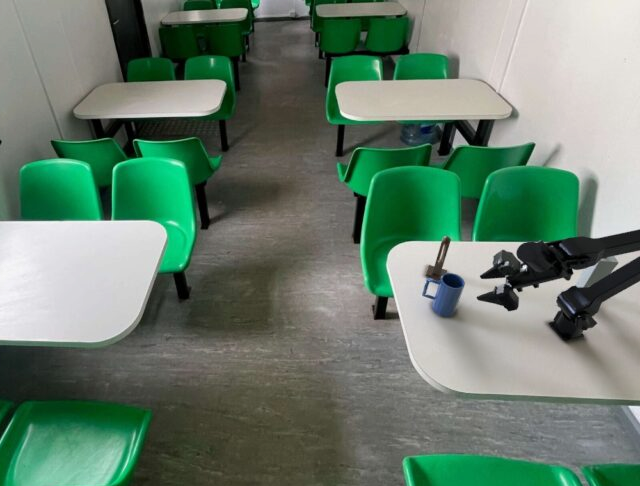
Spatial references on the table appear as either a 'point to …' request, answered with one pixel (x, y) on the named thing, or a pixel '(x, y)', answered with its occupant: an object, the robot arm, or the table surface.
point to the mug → (446, 293)
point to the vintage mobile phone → (597, 271)
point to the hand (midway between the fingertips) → (479, 287)
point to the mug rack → (439, 261)
